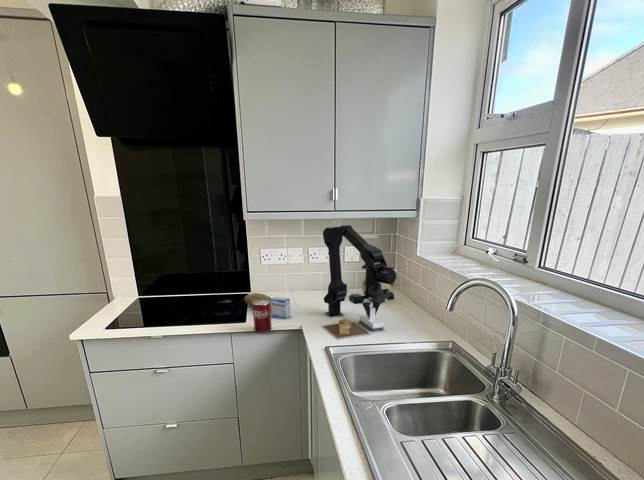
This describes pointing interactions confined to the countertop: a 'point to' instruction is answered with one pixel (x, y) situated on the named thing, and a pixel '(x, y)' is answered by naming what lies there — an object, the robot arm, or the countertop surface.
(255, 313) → the soda can
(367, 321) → the brush
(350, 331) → the spill patch
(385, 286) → the cantaloupe
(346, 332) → the crumb
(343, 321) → the crumb
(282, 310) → the medicine box
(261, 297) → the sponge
